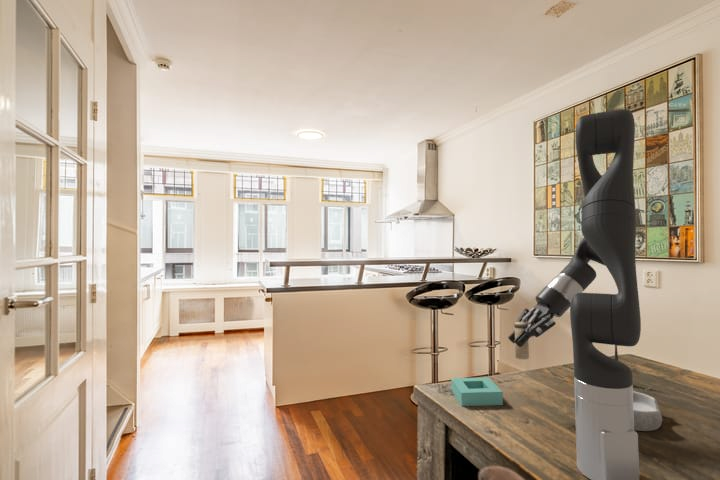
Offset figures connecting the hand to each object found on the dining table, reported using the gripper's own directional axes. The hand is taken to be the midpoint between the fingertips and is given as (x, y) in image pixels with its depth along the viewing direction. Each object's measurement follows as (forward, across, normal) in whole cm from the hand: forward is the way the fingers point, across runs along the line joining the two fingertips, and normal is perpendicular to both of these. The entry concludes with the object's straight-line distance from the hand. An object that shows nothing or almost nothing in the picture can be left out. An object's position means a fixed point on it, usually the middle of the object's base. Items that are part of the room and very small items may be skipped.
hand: (514, 342), depth 98 cm
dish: (-5, +7, +30) cm, 31 cm away
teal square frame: (+18, -8, +7) cm, 21 cm away
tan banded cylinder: (+1, 0, +4) cm, 5 cm away
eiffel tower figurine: (-14, -16, +39) cm, 44 cm away
